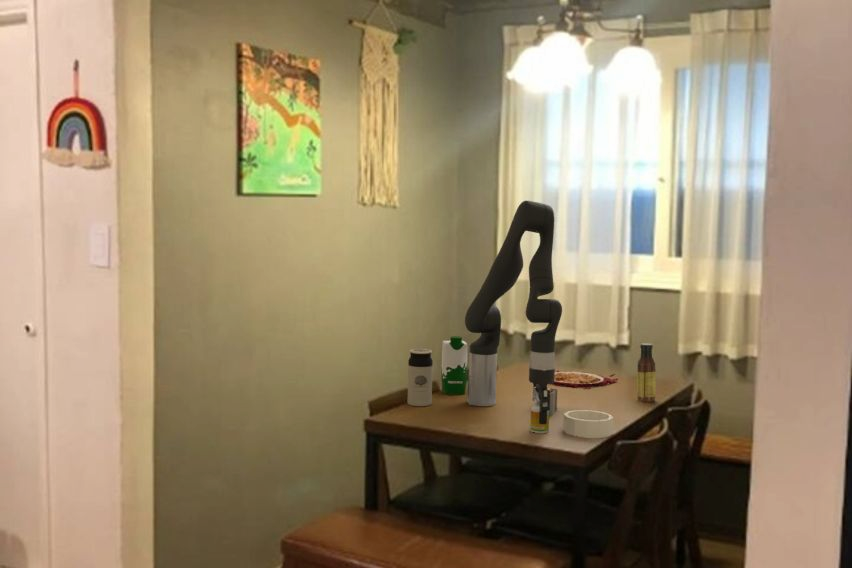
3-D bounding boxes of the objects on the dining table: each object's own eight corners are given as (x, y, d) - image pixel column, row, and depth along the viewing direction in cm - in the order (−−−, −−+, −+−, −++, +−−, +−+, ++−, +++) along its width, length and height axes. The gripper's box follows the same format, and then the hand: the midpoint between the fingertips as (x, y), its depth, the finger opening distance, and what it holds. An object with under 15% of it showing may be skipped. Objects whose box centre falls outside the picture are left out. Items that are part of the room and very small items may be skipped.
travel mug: (410, 401, 314) (411, 348, 312) (433, 402, 312) (434, 349, 311) (405, 406, 306) (406, 351, 304) (429, 407, 304) (430, 353, 303)
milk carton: (443, 395, 324) (444, 338, 323) (439, 389, 333) (440, 334, 332) (468, 394, 326) (469, 338, 324) (463, 389, 335) (465, 334, 333)
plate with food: (557, 375, 371) (557, 366, 371) (618, 382, 357) (618, 373, 356) (529, 385, 352) (529, 376, 351) (592, 392, 337) (592, 383, 337)
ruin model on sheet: (549, 419, 293) (550, 389, 292) (539, 418, 294) (540, 388, 293) (557, 412, 304) (559, 383, 303) (548, 411, 305) (549, 382, 304)
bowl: (569, 437, 269) (569, 420, 269) (559, 426, 283) (560, 409, 283) (617, 438, 270) (617, 421, 270) (605, 426, 284) (605, 410, 284)
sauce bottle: (656, 400, 325) (659, 343, 323) (653, 403, 319) (655, 346, 317) (637, 397, 327) (640, 342, 326) (634, 401, 322) (636, 344, 320)
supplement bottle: (548, 434, 273) (549, 401, 272) (529, 433, 274) (530, 400, 273) (548, 430, 278) (550, 398, 277) (530, 428, 279) (531, 396, 278)
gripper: (525, 362, 281) (523, 415, 282) (533, 370, 267) (531, 426, 268) (550, 362, 281) (548, 415, 283) (559, 370, 267) (557, 426, 269)
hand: (540, 420), depth 276 cm, fingers open, 8 cm apart
